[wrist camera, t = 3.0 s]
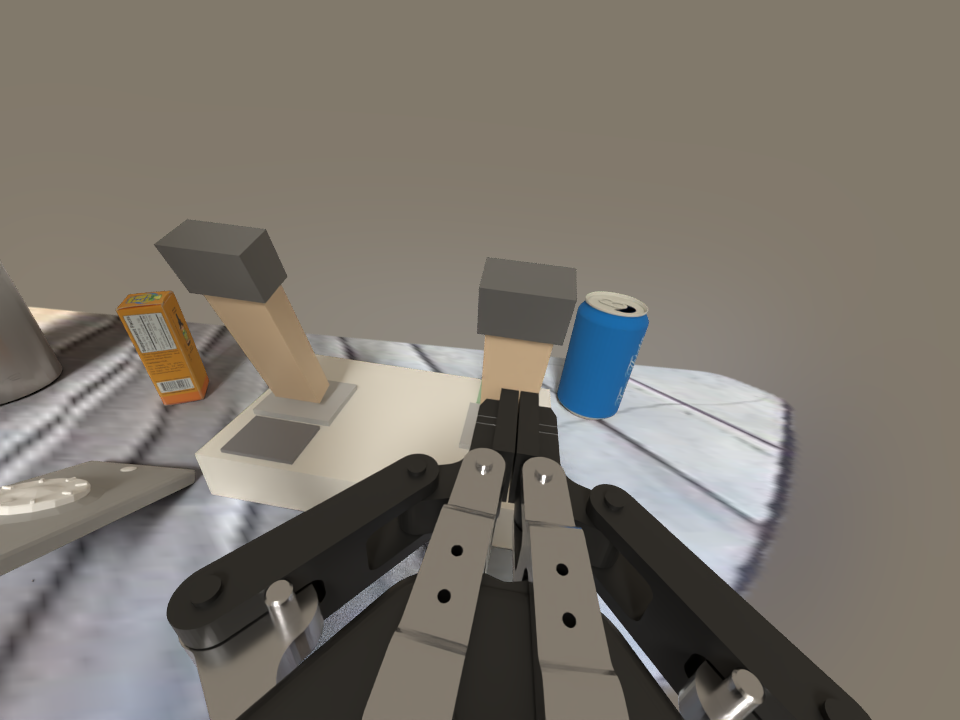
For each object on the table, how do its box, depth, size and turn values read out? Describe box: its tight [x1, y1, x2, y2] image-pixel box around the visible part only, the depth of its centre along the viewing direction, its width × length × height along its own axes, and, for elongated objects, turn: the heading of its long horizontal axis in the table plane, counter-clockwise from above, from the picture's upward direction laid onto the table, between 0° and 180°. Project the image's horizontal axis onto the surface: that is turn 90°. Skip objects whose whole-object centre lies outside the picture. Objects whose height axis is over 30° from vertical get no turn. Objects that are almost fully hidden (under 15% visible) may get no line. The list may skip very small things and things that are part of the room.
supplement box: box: [116, 291, 209, 405], centre depth 33 cm, size 3×3×10 cm
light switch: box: [0, 461, 195, 581], centre depth 20 cm, size 8×5×13 cm
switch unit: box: [195, 354, 551, 549], centre depth 30 cm, size 14×24×4 cm, turn 82°
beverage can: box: [557, 292, 649, 420], centre depth 36 cm, size 6×6×12 cm
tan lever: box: [477, 257, 577, 405], centre depth 22 cm, size 2×4×14 cm, turn 81°
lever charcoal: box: [154, 220, 329, 403], centre depth 23 cm, size 2×4×14 cm, turn 81°
